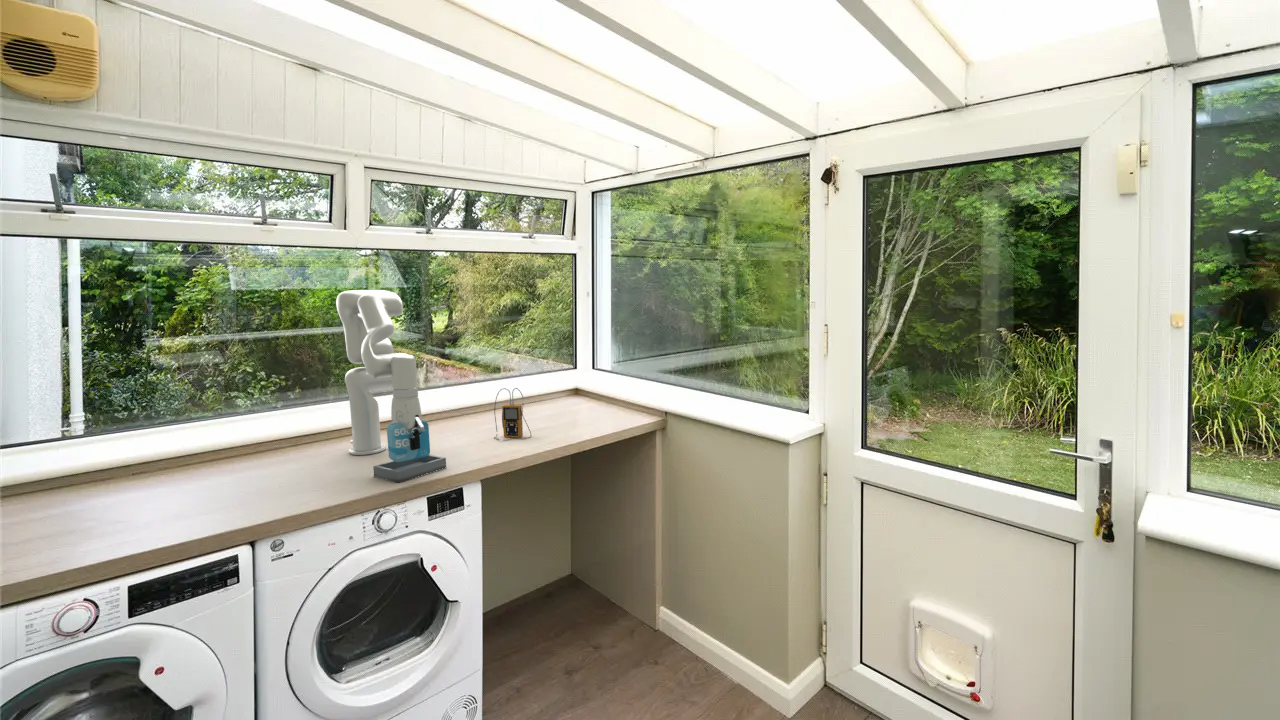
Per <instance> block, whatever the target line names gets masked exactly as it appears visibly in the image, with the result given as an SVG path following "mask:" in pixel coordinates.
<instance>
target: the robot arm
mask: <svg viewBox="0 0 1280 720" xmlns="http://www.w3.org/2000/svg"><path fill="white" fill-rule="evenodd" d="M335 301H336V310H337V313H338V316H339V318H340V321H341V323H342V326H343V329H344V337H345V339H344V340H345V347H346V356H347V359H348V361H349V362H350V363H352V364H358V365H359V364H361V365H362V364H363V366H360V367H359V366H358V367H355V368H351V369H349V370H348V371H347V372H346V373H345V376H344V383H345V386H346V390H347V394H348V399H349V408H350V420H351V433H352V439H351V440H350V441H349V443H350V444H352V447H351V448H349V449H348V453H349V454H350V455H353V456H367V455H372V454H377V453H381V452H383V451H385V450H386V449H387V447H386V444H383V443H382V438H381V436H382V435H381V422H380V410H379V403H378V401H377V399H376V398H375V397H374V396H373V395H372V394H371V393H374V392H381V391H388V390H392V399H391V410H390V411H391V412H390V415H391V419H390V420H391V424H392V423H397V424H403V429H405V430H409V431H410V434H411V438H410V446H411V450H416V449H419V448H420V436H421V433H422V431H423V429H424V426H423V424H422V420H423V417H422V410H421V403H420V400H419V389H418V375H417V373H418V372H417V361H416V357H415V355H411V354H408V353H406V352H397V353H395V351H394V346H393V344H392V341H391V340H390V337H391V336H392V335H393V333H394V332H395V327H394V324H393V321H392V317H399V316H400V315H401V314H402V313H403V309H404V305H403V301H402V299H401V298H400V296H399V295H398V294H396V293H395V292H394V291H393V292H392V291H390V290H385V289H381V290H380V289H379V290H378V289H371V290H370V289H366V290H365V289H358V290H357V289H355V290H354V289H353V290H346V291H342V292H340V293H338V295H337V297H336V300H335ZM414 426H416V427H415V428H413V427H414ZM413 430H416V431H415V432H414V431H413Z"/></svg>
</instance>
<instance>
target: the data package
mask: <svg viewBox="0 0 1280 720" xmlns="http://www.w3.org/2000/svg"><path fill="white" fill-rule="evenodd" d="M422 424H423V426H424V429H423V431H422V433H421V436H420V448H419V449H416V450H411V446H410V438H411V434H410V431H409V430H405V429H403V424H397V423H392V422H391V423H390V424H389V425H387V427H386V438H387V439H386V440H387V451H388V459H390V460H391V461H395V462H403V461H407V460H412V459H417V458H422V457H427V456H428V455H431V454H430V453H431V444H430V429H429V427H430V425H429V423H428V422H427V421H426V420H423V419H422ZM415 427H416V426H414V427H413V428H415ZM413 431H414V432H415V431H416V430H413Z"/></svg>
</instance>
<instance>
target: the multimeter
mask: <svg viewBox="0 0 1280 720" xmlns="http://www.w3.org/2000/svg"><path fill="white" fill-rule="evenodd" d="M502 390H506V391H508V392H509V404H504V405H502V406H501V408H502V409H501V410H502V412H501V424H502V429H503V437H504V438H505V439H500V438H498V435H496V436H494V437H493V439H494V440H496V441H501V442H506V441H509V440H519V439H521V437H522V436H524V431H523V420H524V422H525V424H526V427H527V428H528V431H529V433H530V435H532V431H531V430H530V427H529V425H528V423H527V420H526V418H525V417H524V413H523V412H524V406H523V404H522V405H521V404H515V403H514V391H515V390H517V391H519V392H520V394H521V396H522V398H524V395H523V393H522V391H521V390H520V389H518V388H517V387H514V389H512V393H511V392H510V390H509V389H507V388H505V387H503V388H501V389H500V390H499V391H498V392H497V394H496V397H495V402H494V406H496V405H497V399H498V396H499V393H500V392H501V391H502ZM511 396H512V397H511ZM494 414H496V408H494ZM494 421H495V423H497V418H496V416H494ZM495 429H496V431H498V425H497V424H495ZM506 437H507V438H506ZM527 438H528V439H530V438H531V436H528V437H524V438H523V440H527Z"/></svg>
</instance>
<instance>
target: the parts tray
mask: <svg viewBox="0 0 1280 720" xmlns="http://www.w3.org/2000/svg"><path fill="white" fill-rule="evenodd" d="M446 460H447V458H446V457H444V456H438V455H433V454H429V455H428V456H427V457H422V458H417V459H412V460H407V461H403V462H395V461H393V460H391V461H387V462H384V463H380V464H376V465H373V467H372V468H373V477H374V478H377V477H378V479H381V478H382V479H383V480H385V479H387V480H386V481H389V480H391V481H390V482H393V481H394V483H397V484H400V482H401V483H403V481H404V482H406V480H407V481H409V479H410V480H413V479H416V478H415V477H417V478H419V477H418V476H420V477H422V476H421V475H423V476H425V475H424V474H426V473H429V474H431V473H430V472H432V473H434V472H433V471H435V472H437V471H436V470H438V471H440V470H439V469H442V468H445V467H446V468H447V461H446ZM446 468H445V469H446ZM442 470H443V469H442ZM426 475H427V474H426ZM412 478H413V479H412Z"/></svg>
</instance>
